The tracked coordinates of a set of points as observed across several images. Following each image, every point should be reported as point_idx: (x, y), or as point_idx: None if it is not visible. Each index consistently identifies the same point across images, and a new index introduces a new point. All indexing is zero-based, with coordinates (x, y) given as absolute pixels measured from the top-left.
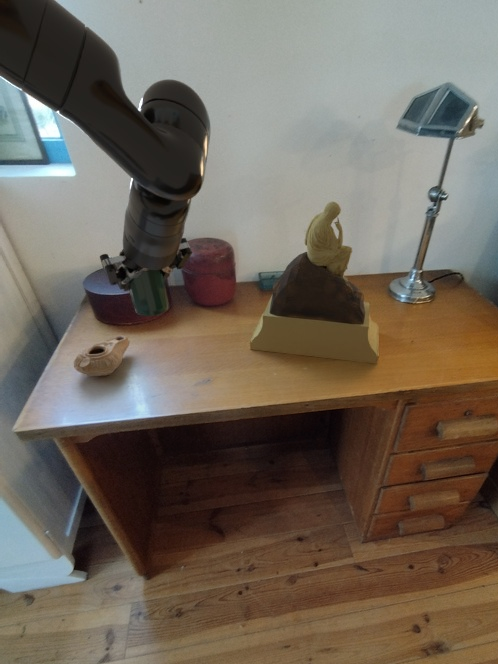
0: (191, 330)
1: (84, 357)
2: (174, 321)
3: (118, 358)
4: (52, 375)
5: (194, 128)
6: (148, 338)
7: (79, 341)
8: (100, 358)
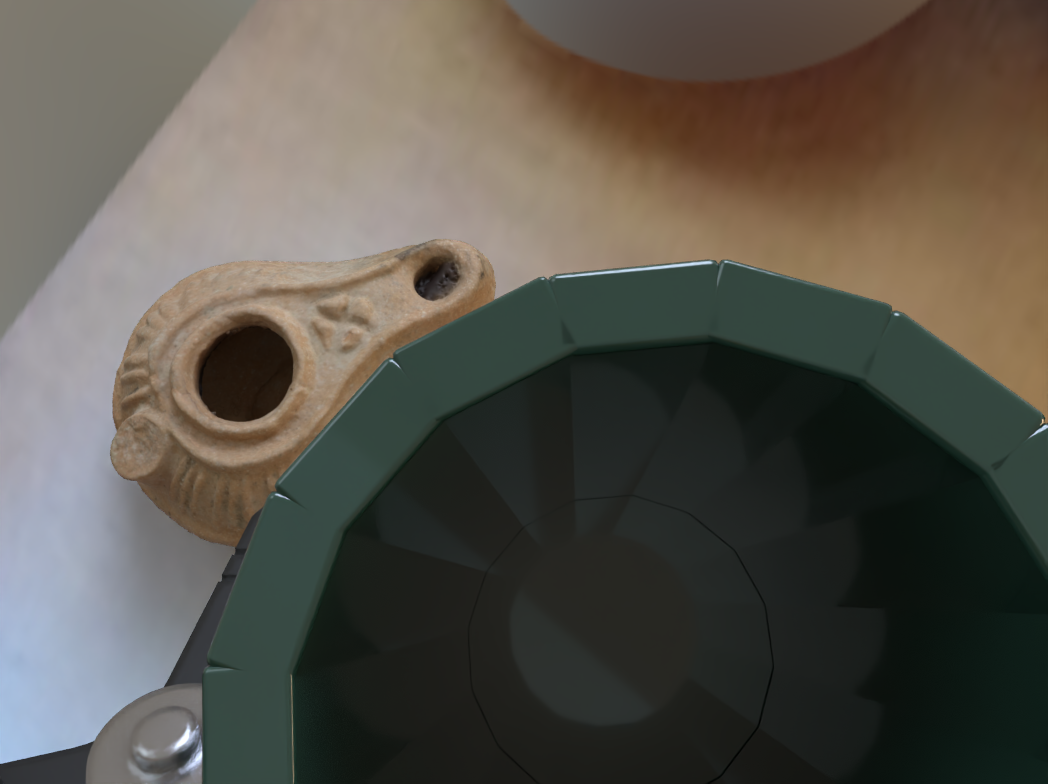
0: (923, 311)
1: (155, 395)
2: (870, 143)
3: None
4: (67, 281)
5: None
6: (641, 237)
7: (302, 42)
8: (223, 472)
